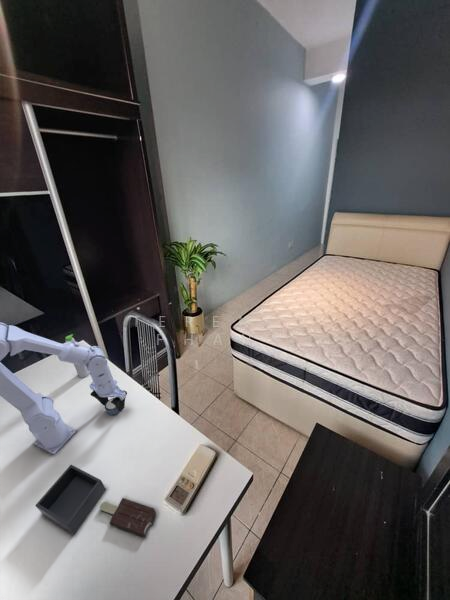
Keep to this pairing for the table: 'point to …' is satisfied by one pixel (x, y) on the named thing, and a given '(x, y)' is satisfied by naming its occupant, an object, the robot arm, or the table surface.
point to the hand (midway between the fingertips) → (113, 406)
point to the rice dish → (110, 407)
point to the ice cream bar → (130, 516)
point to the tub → (71, 498)
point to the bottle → (80, 369)
